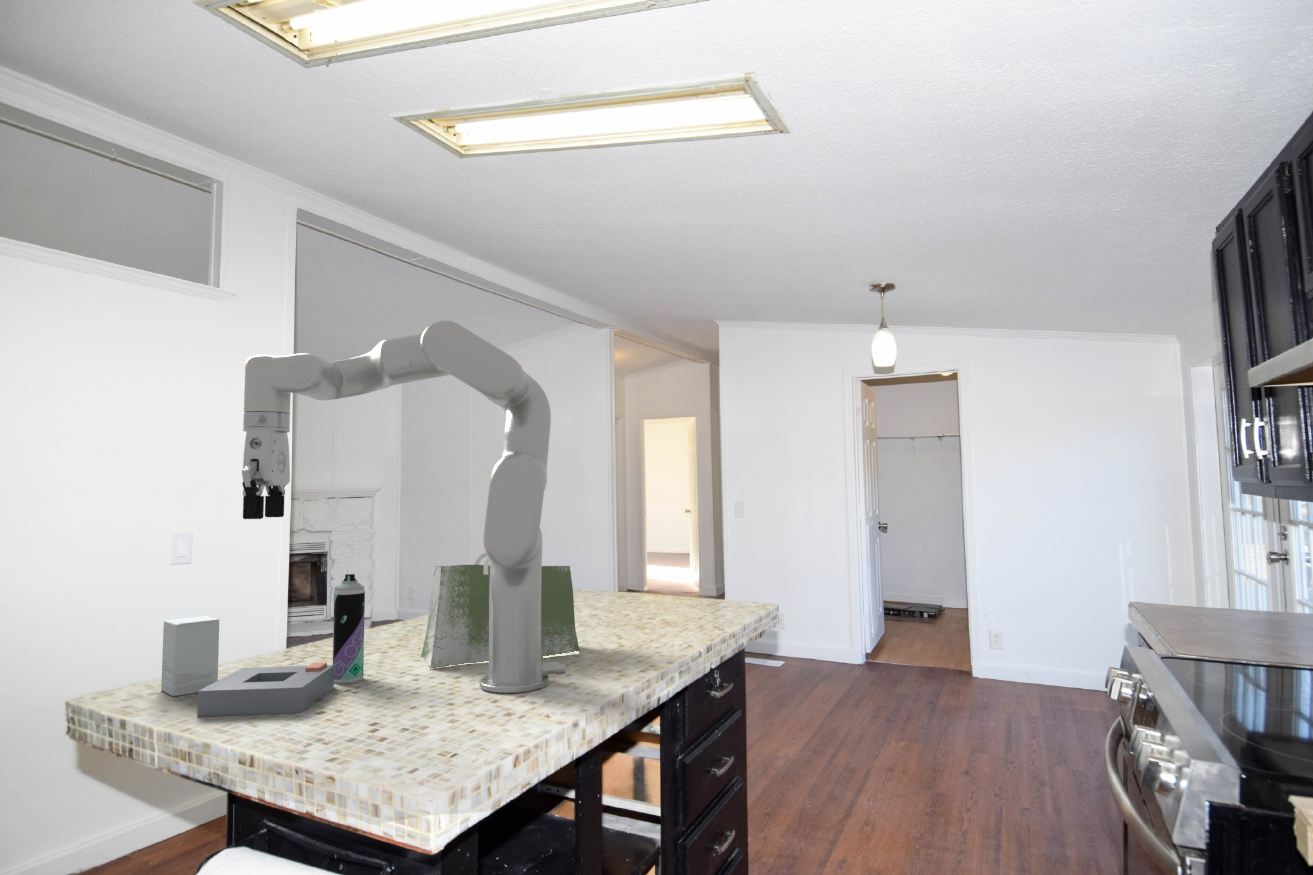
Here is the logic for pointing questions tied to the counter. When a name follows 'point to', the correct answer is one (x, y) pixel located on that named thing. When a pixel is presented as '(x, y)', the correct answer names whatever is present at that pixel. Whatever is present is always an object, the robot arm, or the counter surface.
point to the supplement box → (189, 654)
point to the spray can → (348, 631)
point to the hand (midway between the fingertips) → (264, 517)
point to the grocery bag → (465, 614)
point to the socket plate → (266, 690)
